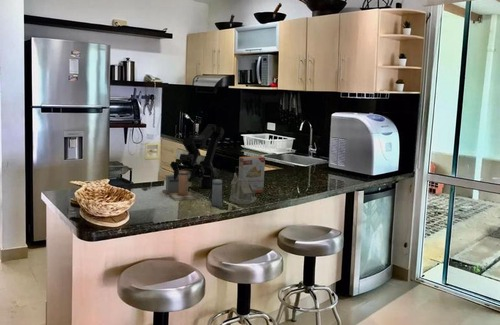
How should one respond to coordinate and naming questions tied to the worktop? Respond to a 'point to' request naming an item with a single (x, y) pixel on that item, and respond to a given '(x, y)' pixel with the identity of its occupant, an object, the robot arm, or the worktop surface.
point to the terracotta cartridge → (183, 182)
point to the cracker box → (252, 171)
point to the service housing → (171, 184)
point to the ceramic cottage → (242, 191)
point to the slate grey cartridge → (217, 192)
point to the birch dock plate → (182, 196)
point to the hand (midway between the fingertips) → (181, 180)
